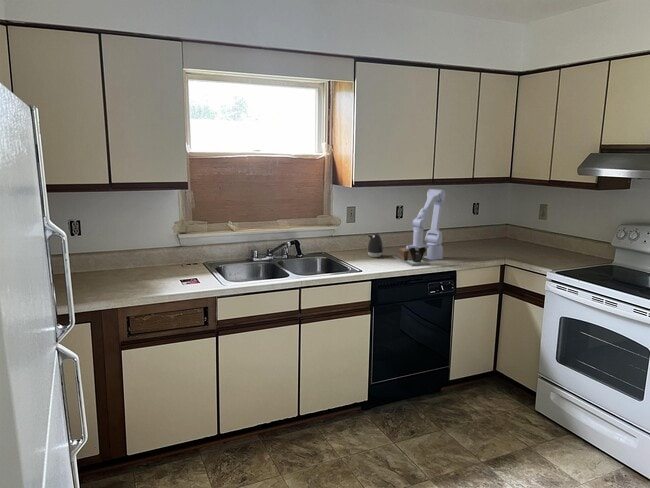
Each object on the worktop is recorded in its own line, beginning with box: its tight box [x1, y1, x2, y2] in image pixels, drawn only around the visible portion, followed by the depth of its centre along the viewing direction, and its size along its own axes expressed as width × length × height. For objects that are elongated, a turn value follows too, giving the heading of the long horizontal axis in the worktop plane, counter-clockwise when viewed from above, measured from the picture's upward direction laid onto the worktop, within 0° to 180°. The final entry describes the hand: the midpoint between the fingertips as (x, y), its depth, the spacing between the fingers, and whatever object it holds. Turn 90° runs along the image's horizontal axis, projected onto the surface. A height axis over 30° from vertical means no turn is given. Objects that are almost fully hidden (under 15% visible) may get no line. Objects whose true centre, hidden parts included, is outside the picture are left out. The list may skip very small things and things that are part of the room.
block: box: [405, 252, 412, 258], centre depth 309 cm, size 4×4×4 cm
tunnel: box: [397, 247, 419, 260], centre depth 309 cm, size 12×8×6 cm
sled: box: [405, 253, 421, 262], centre depth 306 cm, size 7×15×5 cm, turn 19°
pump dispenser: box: [366, 233, 384, 259], centre depth 316 cm, size 10×10×15 cm
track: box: [392, 254, 431, 267], centre depth 308 cm, size 12×25×1 cm, turn 19°
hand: (416, 260), depth 301 cm, fingers closed on sled, 4 cm apart
